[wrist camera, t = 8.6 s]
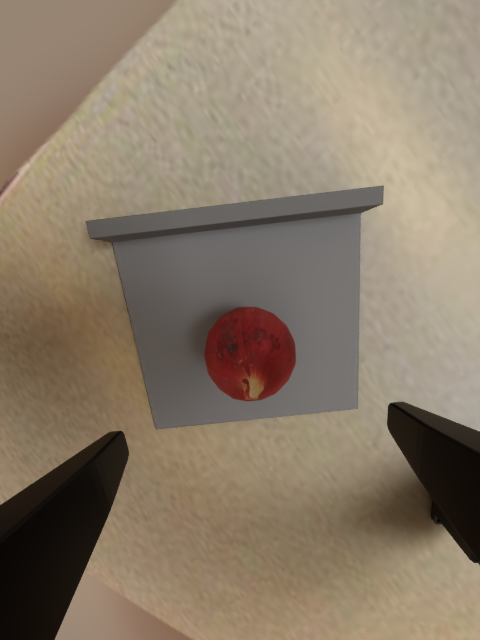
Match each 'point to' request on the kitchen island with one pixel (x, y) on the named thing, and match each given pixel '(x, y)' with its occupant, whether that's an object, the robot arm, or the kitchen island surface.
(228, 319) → the onion
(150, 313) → the mat
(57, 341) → the kitchen island surface
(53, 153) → the kitchen island surface
